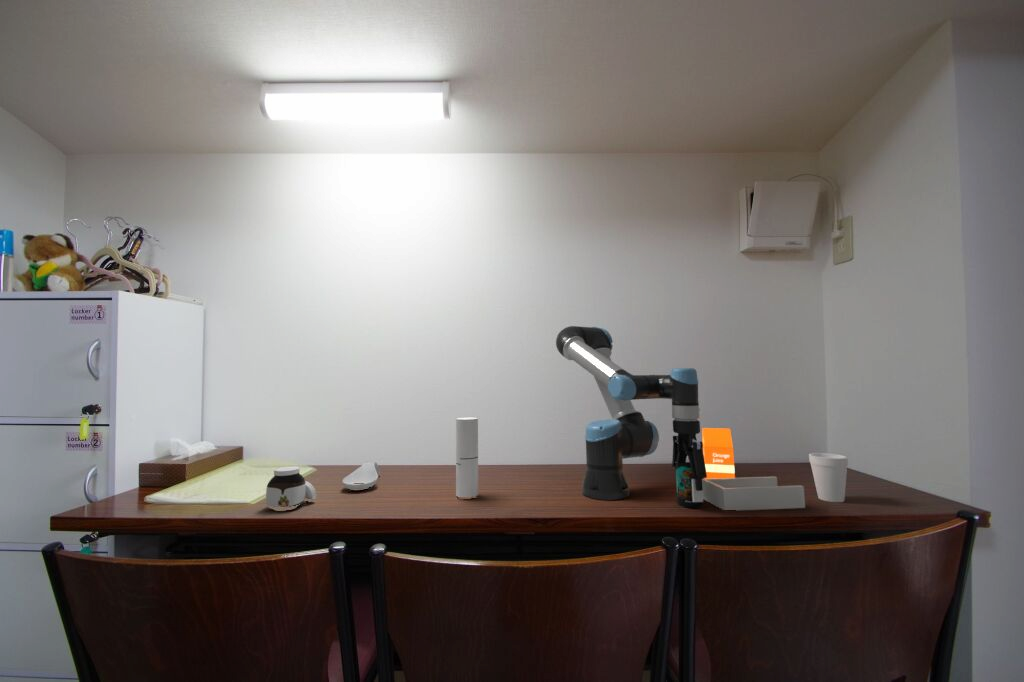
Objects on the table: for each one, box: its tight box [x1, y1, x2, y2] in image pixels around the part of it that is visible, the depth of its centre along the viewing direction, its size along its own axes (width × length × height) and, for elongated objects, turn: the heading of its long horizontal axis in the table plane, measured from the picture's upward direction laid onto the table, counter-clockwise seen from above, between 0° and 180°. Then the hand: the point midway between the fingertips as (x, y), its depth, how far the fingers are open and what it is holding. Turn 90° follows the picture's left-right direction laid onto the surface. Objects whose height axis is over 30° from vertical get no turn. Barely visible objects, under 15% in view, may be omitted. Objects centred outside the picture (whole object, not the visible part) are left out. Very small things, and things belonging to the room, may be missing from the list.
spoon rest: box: [341, 461, 381, 490], centre depth 153 cm, size 24×12×7 cm, turn 3°
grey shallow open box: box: [702, 476, 806, 511], centre depth 125 cm, size 24×12×6 cm, turn 94°
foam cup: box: [808, 452, 849, 503], centre depth 128 cm, size 10×9×13 cm
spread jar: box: [265, 465, 317, 507], centre depth 128 cm, size 12×11×12 cm
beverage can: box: [675, 461, 704, 509], centre depth 124 cm, size 7×7×12 cm
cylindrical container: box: [455, 417, 479, 497], centre depth 136 cm, size 7×7×25 cm
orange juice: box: [701, 427, 736, 479], centre depth 142 cm, size 8×9×20 cm
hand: (689, 496), depth 123 cm, fingers open, 9 cm apart
